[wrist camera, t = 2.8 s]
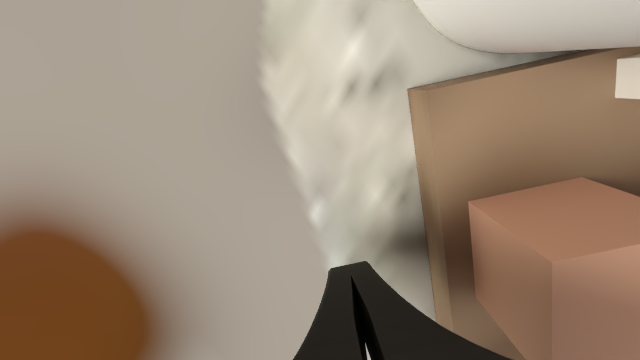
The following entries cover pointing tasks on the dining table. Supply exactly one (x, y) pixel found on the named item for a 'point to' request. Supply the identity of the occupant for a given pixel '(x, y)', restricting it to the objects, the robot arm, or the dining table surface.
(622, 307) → the block
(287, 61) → the dining table surface
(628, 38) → the pill bottle
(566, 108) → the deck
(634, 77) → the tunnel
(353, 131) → the dining table surface
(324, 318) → the robot arm
